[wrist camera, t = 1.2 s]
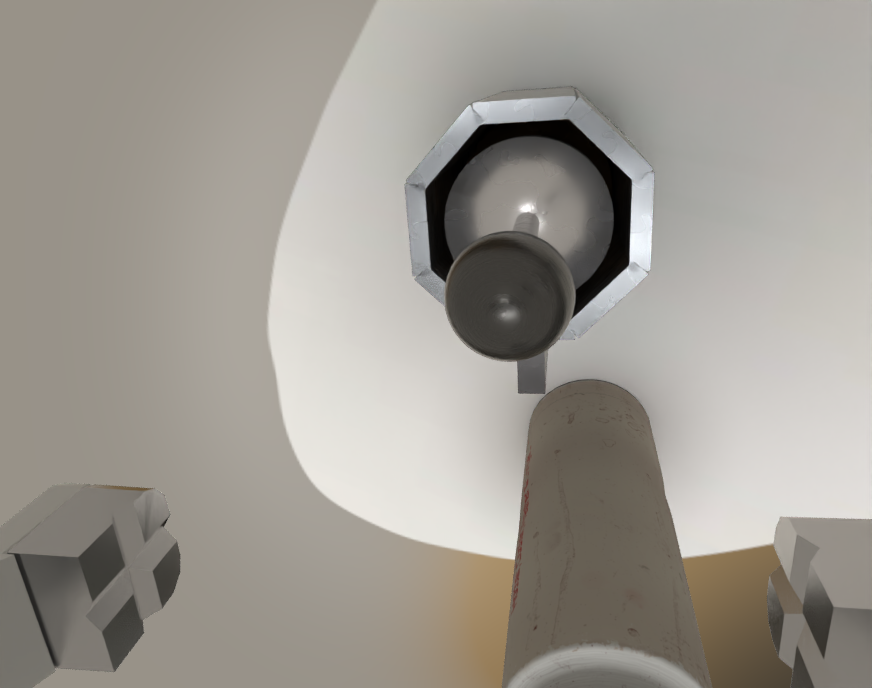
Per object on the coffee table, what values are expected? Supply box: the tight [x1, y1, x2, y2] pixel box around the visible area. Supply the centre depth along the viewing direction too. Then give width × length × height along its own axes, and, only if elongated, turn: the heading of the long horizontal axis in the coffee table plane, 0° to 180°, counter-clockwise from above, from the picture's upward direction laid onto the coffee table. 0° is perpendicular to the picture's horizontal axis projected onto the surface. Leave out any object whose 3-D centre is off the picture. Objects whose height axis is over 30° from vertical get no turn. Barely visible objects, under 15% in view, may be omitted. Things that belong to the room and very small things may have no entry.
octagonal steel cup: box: [405, 86, 655, 394], centre depth 34 cm, size 10×13×14 cm
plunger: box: [444, 135, 614, 362], centre depth 23 cm, size 7×7×12 cm
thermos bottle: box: [502, 380, 712, 688], centre depth 33 cm, size 8×8×28 cm
